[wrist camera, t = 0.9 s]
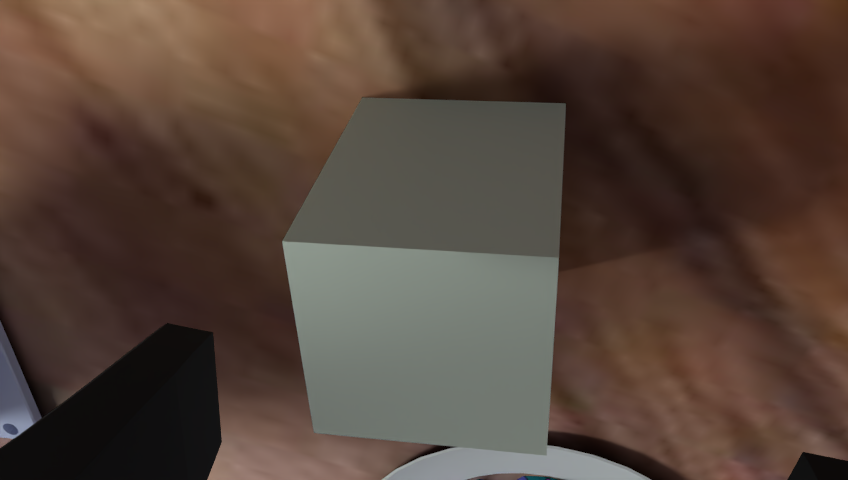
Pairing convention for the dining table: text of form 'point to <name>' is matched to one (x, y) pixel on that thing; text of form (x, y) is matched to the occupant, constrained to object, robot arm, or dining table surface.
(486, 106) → the block
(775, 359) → the dining table surface
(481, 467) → the pudding
